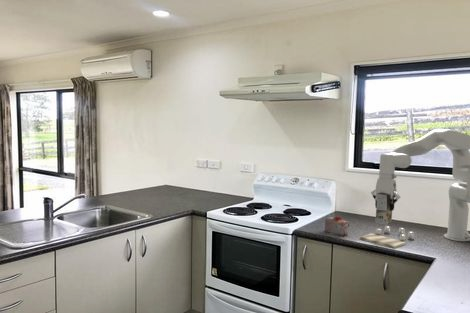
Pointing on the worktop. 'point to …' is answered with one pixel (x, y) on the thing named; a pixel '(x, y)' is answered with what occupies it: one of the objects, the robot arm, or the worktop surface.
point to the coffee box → (383, 209)
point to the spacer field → (401, 233)
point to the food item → (336, 226)
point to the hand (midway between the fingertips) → (384, 208)
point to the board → (383, 240)
